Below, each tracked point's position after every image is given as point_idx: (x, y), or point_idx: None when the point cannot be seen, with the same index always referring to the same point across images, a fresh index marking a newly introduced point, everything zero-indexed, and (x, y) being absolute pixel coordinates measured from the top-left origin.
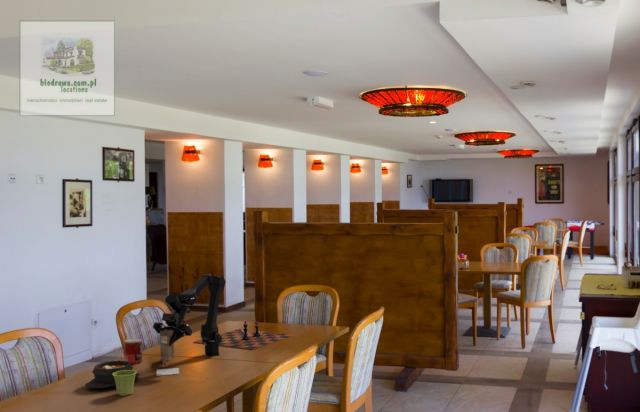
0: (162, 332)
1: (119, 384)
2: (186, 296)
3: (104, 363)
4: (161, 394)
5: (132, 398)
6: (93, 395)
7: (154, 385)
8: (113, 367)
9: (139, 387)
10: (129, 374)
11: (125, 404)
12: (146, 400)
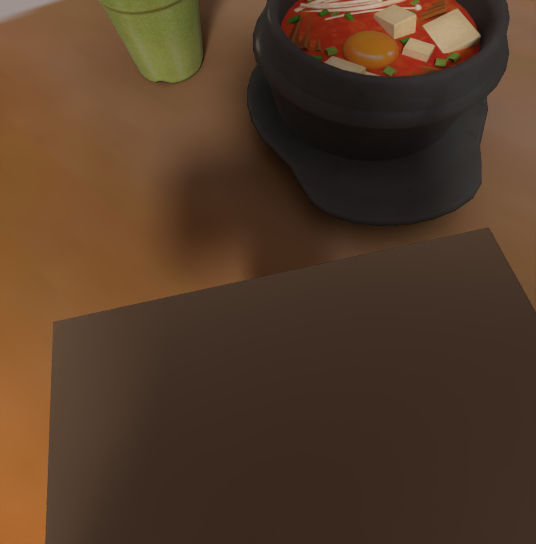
0: (346, 266)
1: None
2: None
3: (492, 11)
4: (5, 124)
5: (95, 47)
6: None
7: (137, 189)
8: (406, 44)
9: (186, 135)
10: (160, 5)
11: (71, 8)
12: (22, 59)
